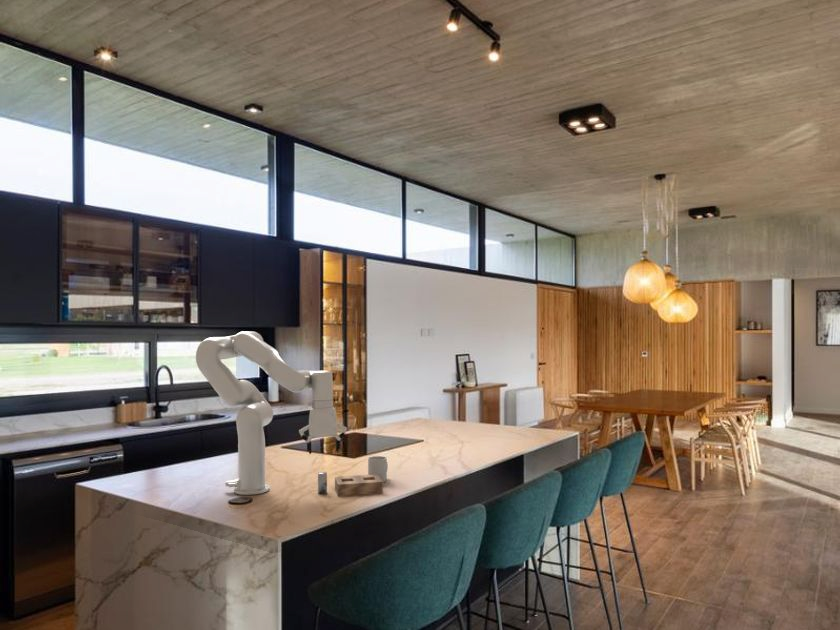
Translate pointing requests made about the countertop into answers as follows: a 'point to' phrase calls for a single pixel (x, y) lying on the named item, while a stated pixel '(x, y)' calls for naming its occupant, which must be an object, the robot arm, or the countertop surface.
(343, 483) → the bore block
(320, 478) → the dowel
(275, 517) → the countertop surface
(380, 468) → the cup
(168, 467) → the countertop surface
